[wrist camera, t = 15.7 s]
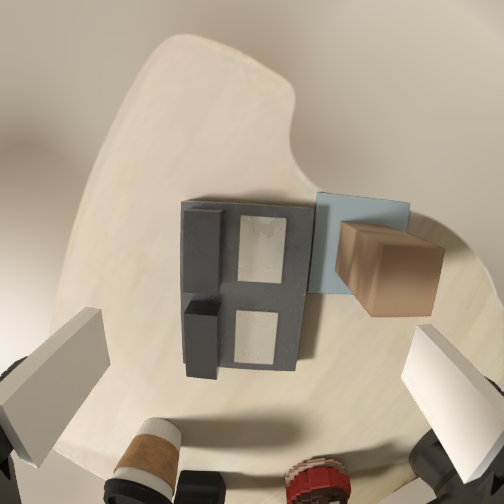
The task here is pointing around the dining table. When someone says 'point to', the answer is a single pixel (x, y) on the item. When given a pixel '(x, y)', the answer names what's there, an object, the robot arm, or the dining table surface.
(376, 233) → the walnut block
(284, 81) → the dining table surface
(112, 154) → the dining table surface
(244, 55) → the dining table surface
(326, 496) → the cake
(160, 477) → the coffee cup
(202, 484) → the portable radio
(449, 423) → the robot arm
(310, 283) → the mat
